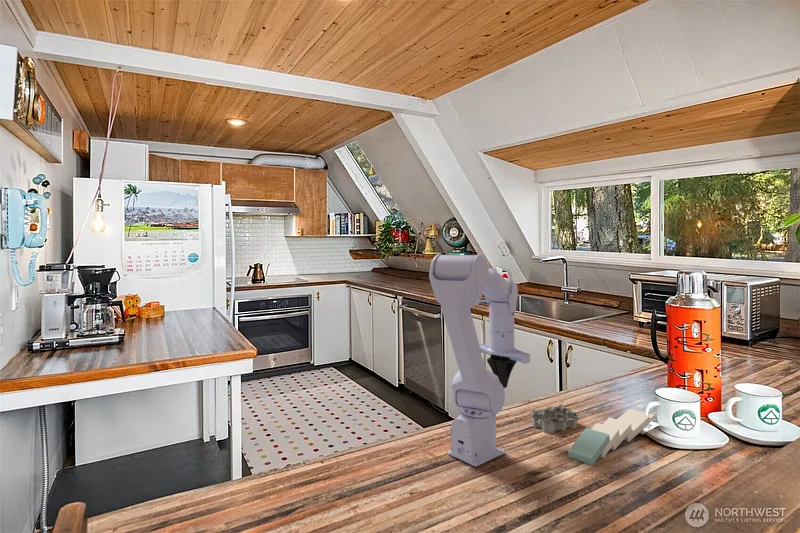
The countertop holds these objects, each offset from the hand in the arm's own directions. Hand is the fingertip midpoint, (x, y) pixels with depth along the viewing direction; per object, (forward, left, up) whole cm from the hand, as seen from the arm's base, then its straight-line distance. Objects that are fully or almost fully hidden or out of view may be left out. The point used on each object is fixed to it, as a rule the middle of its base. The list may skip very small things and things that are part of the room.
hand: (502, 387), depth 115 cm
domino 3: (+8, -21, -9) cm, 24 cm away
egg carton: (+11, -7, -10) cm, 17 cm away
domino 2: (+3, -21, -9) cm, 23 cm away
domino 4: (+15, -21, -9) cm, 27 cm away
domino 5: (+21, -21, -8) cm, 31 cm away
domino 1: (-2, -21, -9) cm, 23 cm away
